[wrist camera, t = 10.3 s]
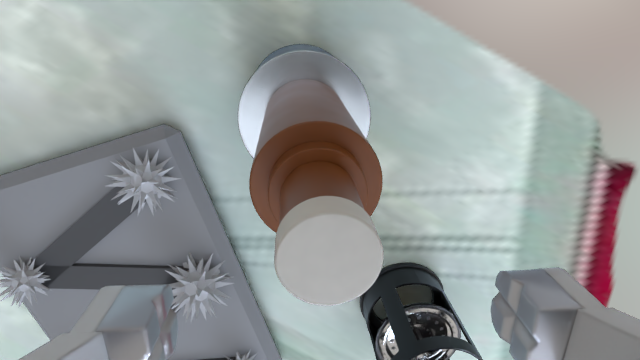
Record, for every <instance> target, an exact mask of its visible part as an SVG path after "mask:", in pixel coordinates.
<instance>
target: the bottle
mask: <svg viewBox="0 0 640 360" xmlns="http://www.w3.org/2000/svg"><path fill="white" fill-rule="evenodd" d="M381 191H382V171H381V166H380V163H379V160H378V158H377V156H376V154H375V152H374V150H373V149H372V147H371V146H370V144H369V143H368V141H367V139H366V138H365V136H364V135H363V133H362V132H361V130H360V129H359V127H358V126H357V124H356V123H355V121H354V119H353V118H352V116H351V115H350V113H349V112H348V110H347V109H346V107H345V106H344V104H343V102H342V101H341V99H340V98H339V96H338V95H337V94H336V93H335V91H334V90H332V89H331V88H330V87H329V86H327V85H326V84H324V83H321V82H319V81H316V80H311V79H300V80H295V81H292V82H289V83H287V84H285V85H283V86H282V87H280V88H279V89H278V90H277V91H276V92H275V93H274V94H273V96H272V97H271V99H270V100H269V102H268V104H267V107H266V111H265V115H264V119H263V123H262V127H261V131H260V135H259V140H258V144H257V148H256V152H255V156H254V160H253V164H252V168H251V173H250V195H251V199H252V202H253V205H254V207H255V209H256V212H257V213H258V215H259V216H260V218H261V219H262V220H263V221H264V223H265V224H266V225H267V226H268V227H269V228H271V229H272V230H273V231H274V232H276V238H275V256H274V264H275V270H276V274H277V276H278V278H279V280H280V282H281V283H282V285H283V286H284V287H285V289H286V290H287V291H288V292H289V293H291V294H292V295H293V296H295V297H296V298H298V299H300V300H302V301H304V302H307V303H310V304H314V305H321V306H331V305H338V304H343V303H346V302H349V301H351V300H353V299H355V298H357V297H359V296H361V295H362V294H363V293H365V292H366V291H367V290H368V289H369V288H370V287H371V286H372V285H373V283H374V282H375V281H376V279H377V278H378V276H379V273H380V271H381V268H382V265H383V258H384V256H383V246H382V243H381V240H380V237H379V235H378V233H377V230H376V228H375V225H374V223H373V221H372V219H371V217H370V216H371V215H372V213H373V212H374V210H375V208H376V206H377V204H378V201H379V199H380V195H381Z"/></svg>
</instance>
